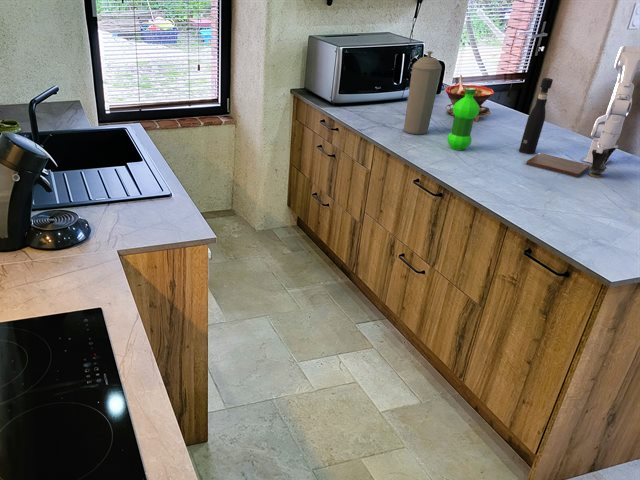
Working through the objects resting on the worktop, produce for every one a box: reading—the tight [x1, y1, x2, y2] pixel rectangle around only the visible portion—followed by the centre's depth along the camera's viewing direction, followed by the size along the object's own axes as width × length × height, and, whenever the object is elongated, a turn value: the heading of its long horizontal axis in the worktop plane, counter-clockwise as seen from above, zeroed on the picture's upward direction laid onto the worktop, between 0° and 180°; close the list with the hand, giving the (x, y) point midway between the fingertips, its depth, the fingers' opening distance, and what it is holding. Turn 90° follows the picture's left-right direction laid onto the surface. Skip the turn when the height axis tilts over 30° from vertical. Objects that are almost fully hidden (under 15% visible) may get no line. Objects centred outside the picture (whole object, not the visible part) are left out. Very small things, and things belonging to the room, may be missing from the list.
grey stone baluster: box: [587, 149, 608, 178], centre depth 228 cm, size 6×6×12 cm
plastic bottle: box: [447, 88, 480, 151], centre depth 249 cm, size 10×10×25 cm
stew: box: [444, 74, 495, 122], centre depth 298 cm, size 28×24×16 cm
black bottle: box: [518, 77, 554, 155], centre depth 246 cm, size 6×6×30 cm
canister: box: [403, 50, 443, 135], centre depth 266 cm, size 13×13×35 cm
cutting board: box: [526, 152, 590, 178], centre depth 239 cm, size 14×20×2 cm
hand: (598, 166), depth 230 cm, fingers open, 7 cm apart
